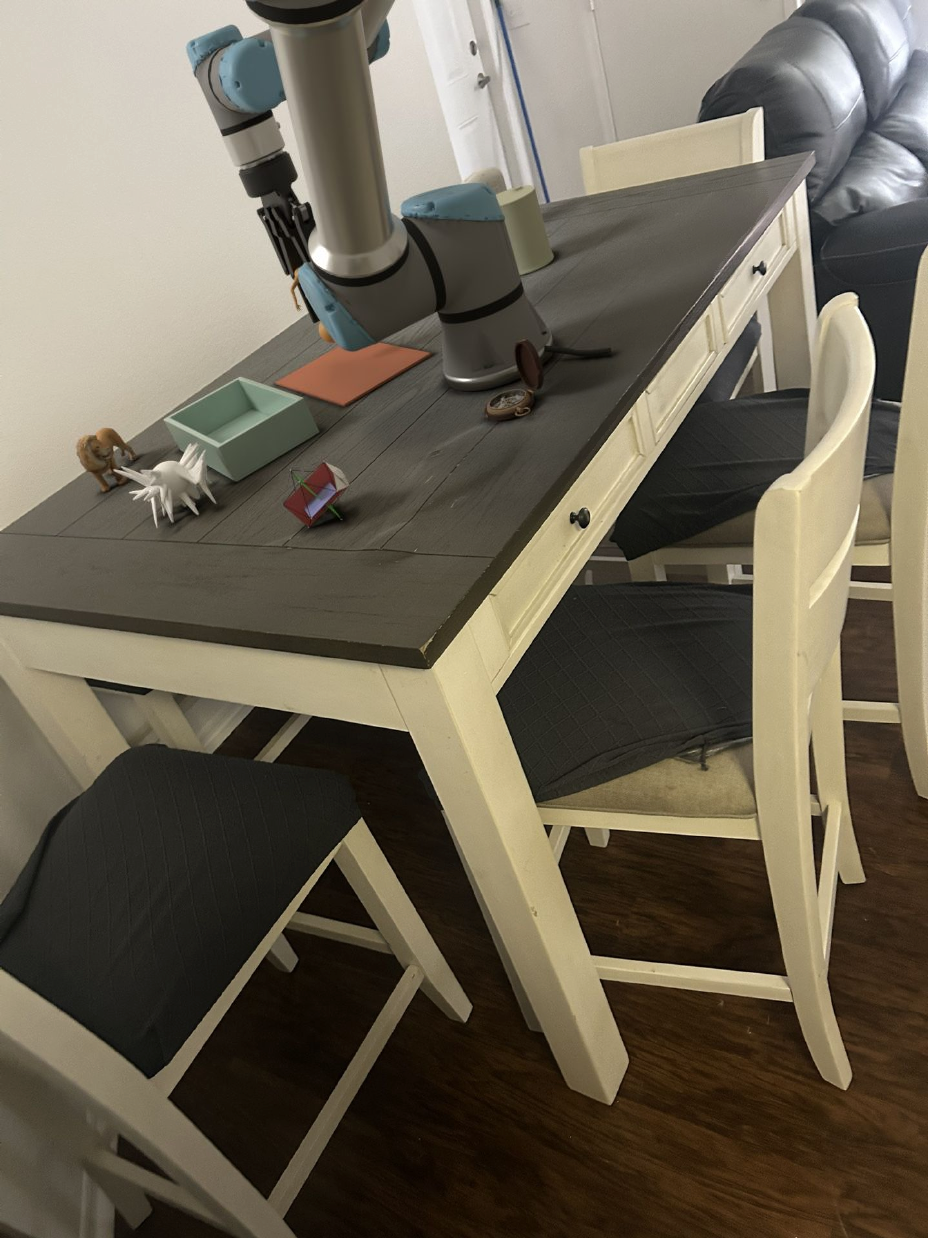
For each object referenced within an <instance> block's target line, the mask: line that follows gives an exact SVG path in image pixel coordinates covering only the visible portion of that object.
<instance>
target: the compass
mask: <svg viewBox="0 0 928 1238" xmlns="http://www.w3.org/2000/svg"><path fill="white" fill-rule="evenodd" d="M514 353H515V361H516V365H517V369H518V372H519V374H520V377H521V378H520V379H521V381H522V382H523V384H524V386H525V387H526V389H527V390H524V389H519V388H517V389H516V388H515V389H510V390H505V391H504V392H501V393H498V394H497V395H495V396H494V397H493V398H491V399H490V400H489V402H488V403H487V405H486V406H485V408H484V413H485V417H486V419H488V420H491V421H506V420H507V421H508V420H511V419H514V418H517V417H523V416H525V415H528V414H529V413H530V412H531V408H532V406H533V405H534V402H535V396H534V394H535V392H536V391H538V390H540V389H542V387H543V385H544V380H545V377H544V376H545V374H544V373H545V372H544V367H543V365H542V363H541V360H540V357H539V355H538V352H537V351H536V349H535V347H534V346H533V344H532V343H531V342H530V341H528V340H527V339H523V340H520V341H518V342H516V345H515V350H514Z"/></svg>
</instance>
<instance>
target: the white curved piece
mask: <svg viewBox="0 0 928 1238" xmlns="http://www.w3.org/2000/svg"><path fill="white" fill-rule="evenodd" d="M465 183H482V184H486V185H488V186H489V187H491V188H492V189H493V191H494V192H495V194H498V193H501V192H503V191H506V190H508V189H507V188H508V187H507V184H506V180H505V177H504V175H503V173H502V171H501V169H499V167H496V166H489V167H483V168H480V169H478V170H476V171H474V172H471V173H470V174H469V175H468V176H467V177H465V178H464V179H463V180H462V181H461V182H460V184H465Z"/></svg>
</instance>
